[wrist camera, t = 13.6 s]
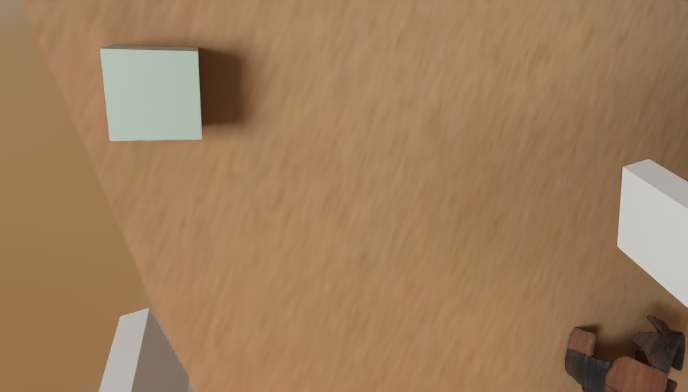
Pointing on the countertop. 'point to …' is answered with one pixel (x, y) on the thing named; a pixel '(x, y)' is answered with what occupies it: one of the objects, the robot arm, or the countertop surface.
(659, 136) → the countertop surface
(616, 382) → the grey brown irregular piece
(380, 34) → the countertop surface
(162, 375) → the robot arm
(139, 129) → the grey-green painted block
